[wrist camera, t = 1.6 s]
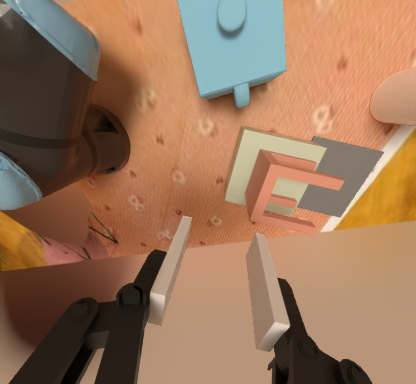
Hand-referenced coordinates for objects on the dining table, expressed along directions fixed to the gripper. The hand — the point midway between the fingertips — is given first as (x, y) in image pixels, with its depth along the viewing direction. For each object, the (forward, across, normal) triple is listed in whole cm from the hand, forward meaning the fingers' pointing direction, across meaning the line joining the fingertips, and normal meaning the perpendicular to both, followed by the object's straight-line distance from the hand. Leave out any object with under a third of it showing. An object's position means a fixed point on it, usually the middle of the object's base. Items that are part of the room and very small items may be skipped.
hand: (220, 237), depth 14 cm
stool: (+20, +10, 0) cm, 22 cm away
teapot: (+27, -4, +20) cm, 34 cm away
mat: (+27, +23, 0) cm, 35 cm away
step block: (+27, +8, 0) cm, 28 cm away
